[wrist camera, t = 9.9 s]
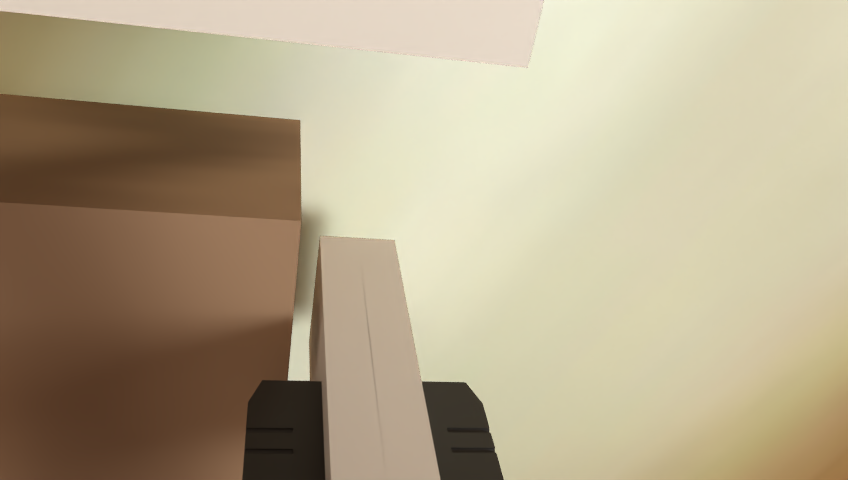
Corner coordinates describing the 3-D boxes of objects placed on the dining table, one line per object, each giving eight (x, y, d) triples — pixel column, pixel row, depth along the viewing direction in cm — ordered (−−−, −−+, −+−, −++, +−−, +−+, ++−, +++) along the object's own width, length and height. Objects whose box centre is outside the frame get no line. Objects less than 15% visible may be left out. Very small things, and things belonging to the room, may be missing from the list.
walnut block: (300, 115, 15) (301, 220, 12) (279, 375, 19) (276, 510, 16) (-91, 80, 14) (-213, 189, 11) (-31, 368, 18) (-107, 516, 14)
